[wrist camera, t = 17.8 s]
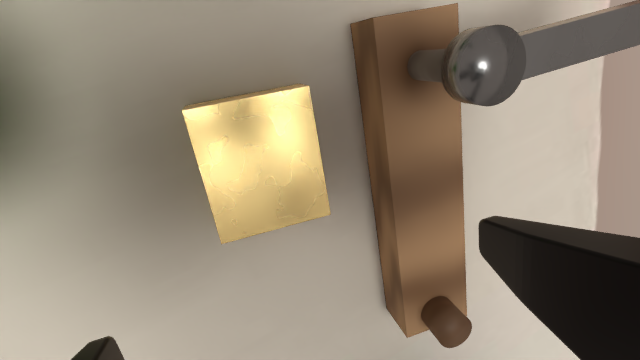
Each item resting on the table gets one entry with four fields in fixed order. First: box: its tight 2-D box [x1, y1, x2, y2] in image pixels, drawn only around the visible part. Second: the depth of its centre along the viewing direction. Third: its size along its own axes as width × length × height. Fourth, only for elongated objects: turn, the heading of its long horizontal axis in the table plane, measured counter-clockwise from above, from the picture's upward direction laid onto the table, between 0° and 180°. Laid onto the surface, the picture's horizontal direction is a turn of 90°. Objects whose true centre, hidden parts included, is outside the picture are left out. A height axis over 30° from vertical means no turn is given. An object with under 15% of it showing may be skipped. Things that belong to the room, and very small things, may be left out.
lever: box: [441, 0, 640, 106], centre depth 14 cm, size 12×3×1 cm, turn 103°
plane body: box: [351, 3, 472, 348], centre depth 20 cm, size 19×4×7 cm, turn 10°
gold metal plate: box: [182, 84, 331, 244], centre depth 19 cm, size 7×6×2 cm
